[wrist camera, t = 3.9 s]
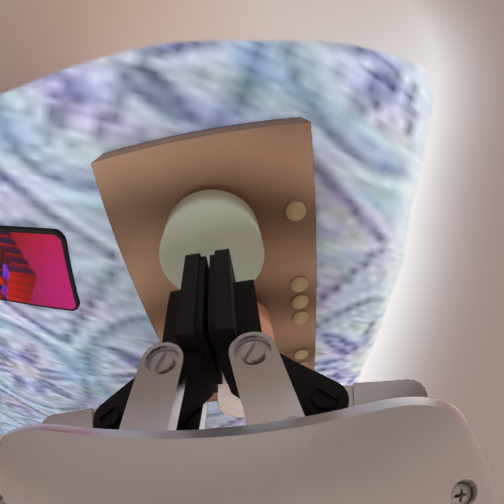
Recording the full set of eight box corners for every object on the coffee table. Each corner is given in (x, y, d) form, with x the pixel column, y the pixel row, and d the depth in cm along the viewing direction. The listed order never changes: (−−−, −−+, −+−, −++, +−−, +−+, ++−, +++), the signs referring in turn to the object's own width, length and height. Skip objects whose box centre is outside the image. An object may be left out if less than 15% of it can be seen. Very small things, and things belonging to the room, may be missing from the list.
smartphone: (80, 313, 22) (-37, 293, 20) (83, 306, 23) (-33, 287, 20) (62, 231, 18) (-61, 225, 16) (67, 225, 19) (-56, 220, 16)
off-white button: (278, 390, 25) (282, 412, 23) (223, 397, 25) (224, 420, 23) (274, 358, 23) (279, 383, 21) (211, 367, 23) (211, 392, 21)
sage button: (263, 263, 18) (269, 290, 16) (178, 277, 18) (174, 304, 16) (252, 182, 15) (258, 200, 13) (155, 199, 15) (146, 220, 13)
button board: (308, 370, 30) (313, 387, 28) (193, 387, 29) (193, 404, 27) (301, 117, 16) (311, 122, 15) (102, 154, 16) (89, 164, 14)
